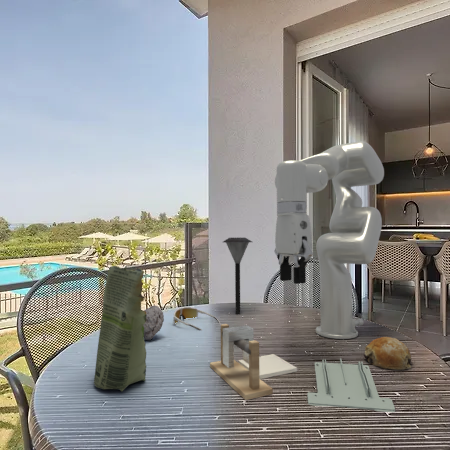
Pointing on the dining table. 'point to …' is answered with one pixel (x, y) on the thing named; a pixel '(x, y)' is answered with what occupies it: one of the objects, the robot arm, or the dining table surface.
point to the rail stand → (243, 371)
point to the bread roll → (388, 354)
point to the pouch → (121, 331)
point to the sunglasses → (189, 315)
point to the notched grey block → (228, 342)
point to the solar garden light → (237, 262)
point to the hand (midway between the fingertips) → (292, 281)
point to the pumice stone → (153, 322)
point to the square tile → (271, 366)
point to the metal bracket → (347, 387)
